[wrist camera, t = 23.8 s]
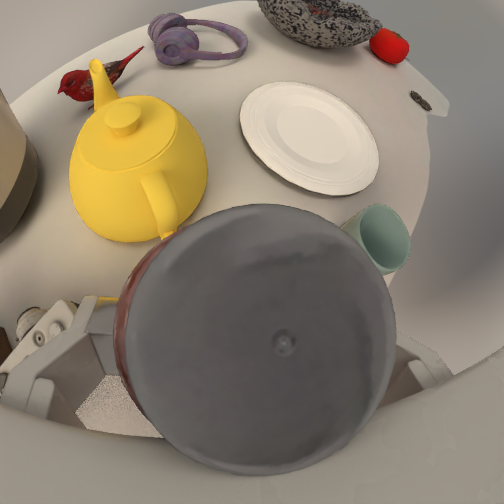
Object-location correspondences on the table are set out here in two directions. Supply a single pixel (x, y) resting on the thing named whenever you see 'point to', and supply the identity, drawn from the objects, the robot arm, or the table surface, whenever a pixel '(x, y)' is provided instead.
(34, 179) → the planter
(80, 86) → the decorative bird figurine
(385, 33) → the tomato
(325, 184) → the plate
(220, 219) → the supplement bottle
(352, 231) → the cup
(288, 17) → the bowl
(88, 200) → the teapot
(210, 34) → the table surface
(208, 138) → the table surface
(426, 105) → the corroded twin loop
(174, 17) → the headphones
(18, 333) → the camera
